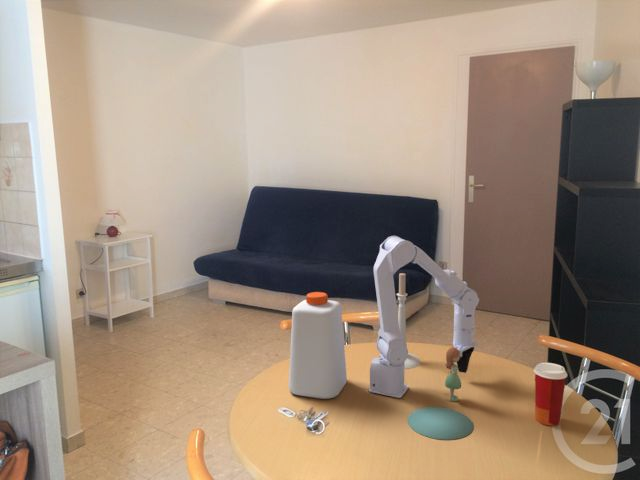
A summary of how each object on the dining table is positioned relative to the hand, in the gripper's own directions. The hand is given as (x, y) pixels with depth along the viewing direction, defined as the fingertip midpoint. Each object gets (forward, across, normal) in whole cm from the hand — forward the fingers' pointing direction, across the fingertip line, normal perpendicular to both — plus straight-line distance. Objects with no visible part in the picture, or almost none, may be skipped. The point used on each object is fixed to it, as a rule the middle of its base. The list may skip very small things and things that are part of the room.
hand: (462, 371), depth 154 cm
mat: (+3, -26, 0) cm, 26 cm away
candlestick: (+4, +7, +21) cm, 23 cm away
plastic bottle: (+3, -21, +37) cm, 43 cm away
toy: (+4, -12, 0) cm, 13 cm away
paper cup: (+4, -13, -24) cm, 28 cm away
